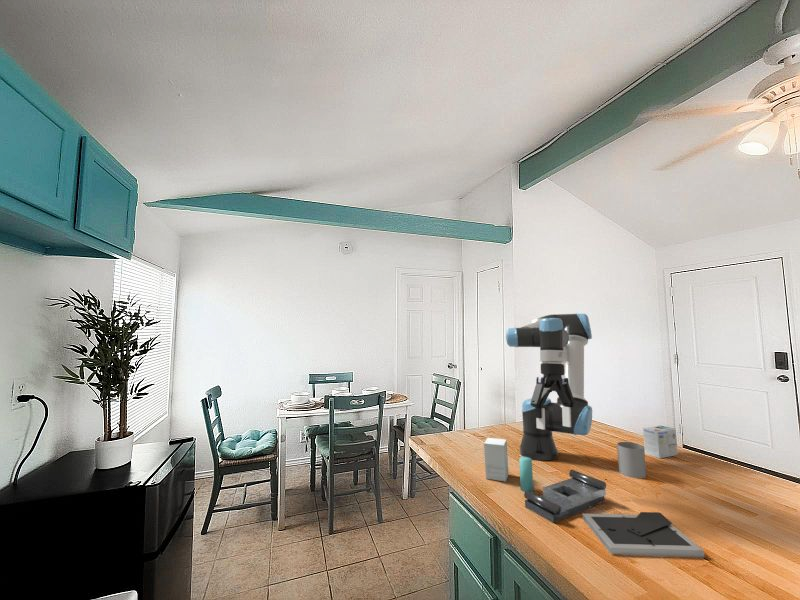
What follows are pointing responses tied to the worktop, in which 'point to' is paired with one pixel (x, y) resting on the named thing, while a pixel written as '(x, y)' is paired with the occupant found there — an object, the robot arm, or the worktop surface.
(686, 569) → the worktop surface
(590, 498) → the plate with side rollers
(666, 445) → the light bulb box
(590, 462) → the worktop surface
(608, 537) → the picture frame
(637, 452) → the cup
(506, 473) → the supplement box
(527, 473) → the pin
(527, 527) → the worktop surface
